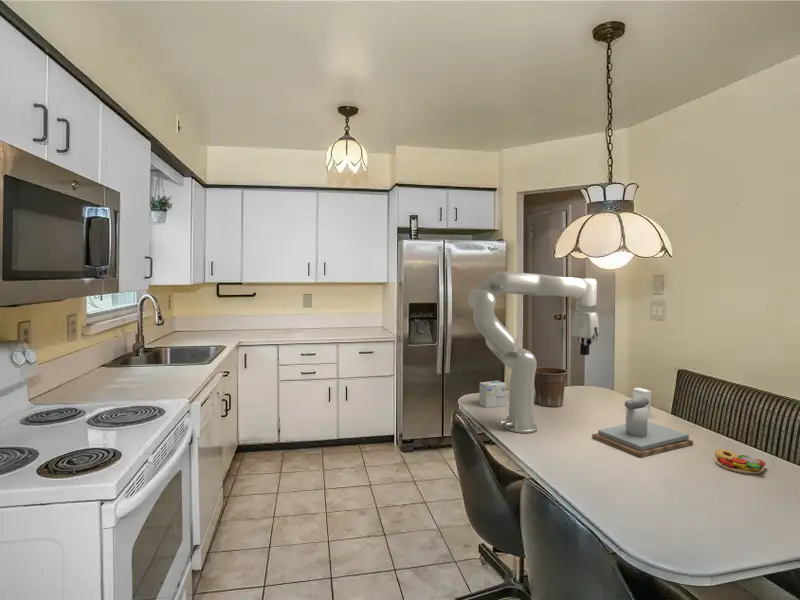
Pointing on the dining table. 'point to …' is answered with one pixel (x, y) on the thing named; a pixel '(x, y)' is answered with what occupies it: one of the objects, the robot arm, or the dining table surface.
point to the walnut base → (645, 452)
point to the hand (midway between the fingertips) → (584, 354)
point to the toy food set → (738, 462)
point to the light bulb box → (492, 394)
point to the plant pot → (550, 386)
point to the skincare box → (643, 393)
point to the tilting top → (641, 429)
